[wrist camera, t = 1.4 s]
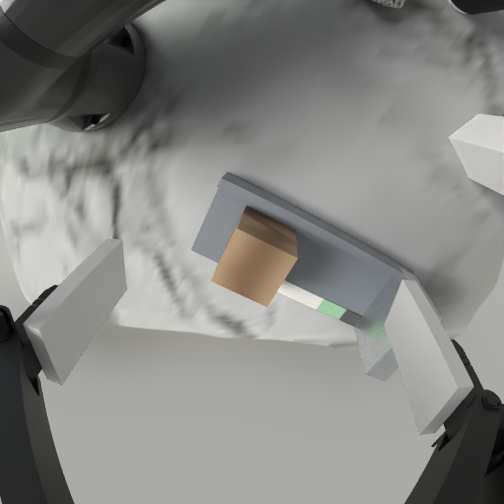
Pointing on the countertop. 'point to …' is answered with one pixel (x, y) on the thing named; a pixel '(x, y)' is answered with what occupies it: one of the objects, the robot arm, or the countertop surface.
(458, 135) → the milk
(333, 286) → the gauge track
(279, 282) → the block
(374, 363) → the grey metal block
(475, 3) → the dixie cup
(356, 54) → the countertop surface
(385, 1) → the rock
